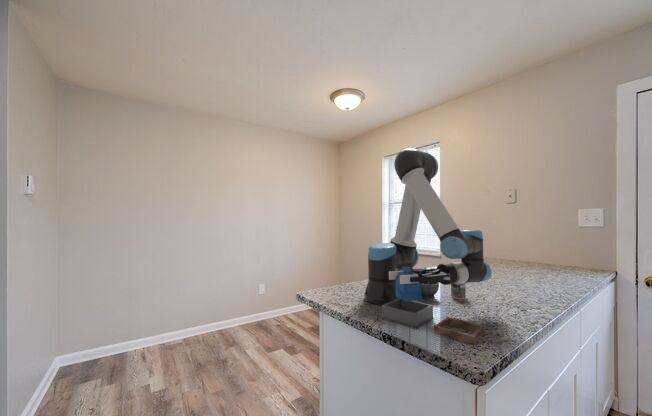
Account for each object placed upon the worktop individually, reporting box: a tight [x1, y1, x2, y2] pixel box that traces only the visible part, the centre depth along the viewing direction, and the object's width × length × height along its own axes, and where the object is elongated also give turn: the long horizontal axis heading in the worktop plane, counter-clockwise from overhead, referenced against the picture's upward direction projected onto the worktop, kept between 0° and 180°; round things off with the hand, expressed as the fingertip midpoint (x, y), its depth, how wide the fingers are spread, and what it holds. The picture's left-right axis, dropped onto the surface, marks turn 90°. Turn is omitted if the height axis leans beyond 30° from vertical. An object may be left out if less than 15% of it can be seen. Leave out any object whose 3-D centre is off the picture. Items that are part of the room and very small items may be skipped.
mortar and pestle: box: [421, 283, 440, 301], centre depth 120 cm, size 11×9×12 cm
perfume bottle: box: [395, 262, 422, 301], centre depth 95 cm, size 6×6×12 cm
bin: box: [381, 298, 434, 330], centre depth 95 cm, size 13×13×4 cm
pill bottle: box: [450, 283, 467, 300], centre depth 121 cm, size 6×6×10 cm
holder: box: [433, 316, 486, 345], centre depth 83 cm, size 11×11×2 cm
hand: (394, 277), depth 94 cm, fingers closed on perfume bottle, 6 cm apart
